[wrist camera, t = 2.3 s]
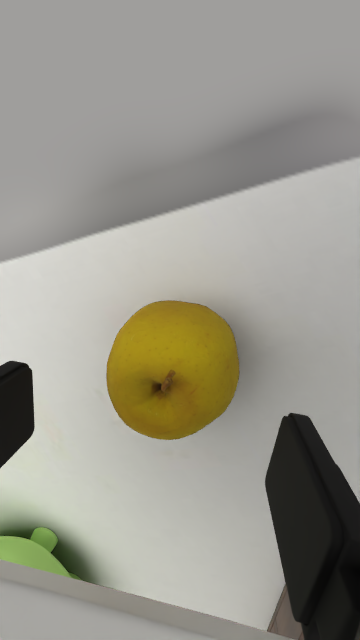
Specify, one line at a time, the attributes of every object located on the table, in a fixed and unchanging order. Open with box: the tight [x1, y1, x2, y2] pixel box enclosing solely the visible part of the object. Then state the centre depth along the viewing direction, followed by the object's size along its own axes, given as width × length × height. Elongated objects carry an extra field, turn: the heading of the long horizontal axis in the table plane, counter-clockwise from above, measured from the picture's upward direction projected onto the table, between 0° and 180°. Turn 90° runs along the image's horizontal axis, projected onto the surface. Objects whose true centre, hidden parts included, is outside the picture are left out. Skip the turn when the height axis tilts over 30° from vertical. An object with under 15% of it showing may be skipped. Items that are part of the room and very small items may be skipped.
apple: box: [107, 301, 239, 440], centre depth 13 cm, size 6×6×8 cm
